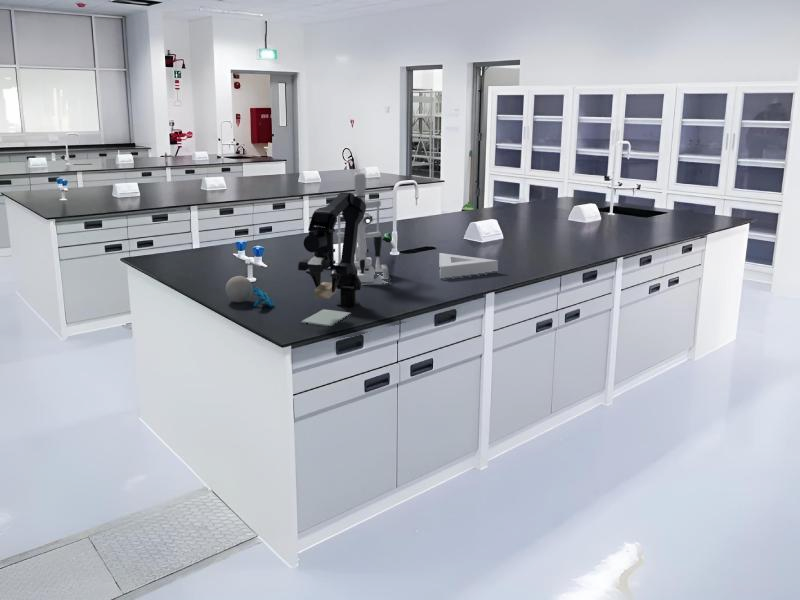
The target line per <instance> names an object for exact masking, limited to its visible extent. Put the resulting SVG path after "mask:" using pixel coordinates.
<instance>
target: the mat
mask: <svg viewBox="0 0 800 600" xmlns="http://www.w3.org/2000/svg"><path fill="white" fill-rule="evenodd" d="M349 314H351V315H352V312H346V311H340V310H332V309H325V308H323V309H321V310H319V311H318V312H316V313H314V314H312V315H311V316H308V317H306V318H305V319H302V320H301V323H302V324H306V323H308V324H307V325H313V324H314V325H313V326H323V327H328V326H329V328H330V326H331V327H332V326H334V325H336V324H337V323H339V322H341V321H342V320H344V319H345V317H346V316H347V317H349V316H350V315H349ZM348 315H349V316H348ZM347 317H346V318H347ZM343 318H344V319H343ZM340 320H341V321H340ZM338 321H339V322H338ZM335 323H336V324H335Z"/></svg>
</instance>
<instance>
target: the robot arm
mask: <svg viewBox="0 0 800 600" xmlns="http://www.w3.org/2000/svg"><path fill="white" fill-rule="evenodd" d="M366 210H367V208H366V204H365V203H364V202H363V200H362V199H360V198H358V197H356V195H355V194H353V193H352V192H346V191H345V192H344V191H341V192H338V194H337V196H336V197H335V198H334V199H333V200H332V201H330V202H329V203H328V204H327V205H326V206H323V207H319V208H316V209H315V210H314V211H313V213H312V215H311V219H310V222H309V225H308V235H307V236H305V238H304V239H303V247H304V248H305V250H306V251H307V252H309V253H314V256H313V257H311V259H307V258H305V259H303V260H301V261H299V262H298V264H297V270H298V271H305V273H306V274H308V275H309V276H310V277H311V278H312V279H311V280H313V282H314V283H313V284H314V286H315V288H316V287H318V286H319V285H320V284H321V275H322V273H323V272H324V271H325V270H327V271H333V272H334V273H333V274H332V273H331V274H330V277H331V282H332V292H335V290H336V287H337V290H340V291H339V293H340V295H339V296H340V300H339V301H340V302H338V303H337V304H336V306H339V307H346V306H348V307H347V308H354V307H355V306H357V305H359V304H360V301H357V298H356V297H357V293H356V292H357V291H361V288H362V286H361V281H360V279H359V277H358V276H357V269H356V266H355V264H354V259H355V250H356V241H357V232H358V224H359V223H360V222H361V220H362V219H363V217H364V212H365V213H366ZM339 214H340V215H342V218H343V219H344V222H345V223H344V224H345V225H344V232H343V233H344V237H343V243H342V248H341V249H342V250H341V262H340V263H339V265H338V264H336V260H335V258H334V257H335V255H334V253H335V252H336V248H334V233H335V232H336V229H335V227H336V224H337V223H338V215H339ZM357 242H358V241H357ZM335 293H336V292H335ZM358 303H359V304H358ZM356 304H357V305H356ZM353 306H354V307H353Z"/></svg>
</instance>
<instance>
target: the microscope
mask: <svg viewBox="0 0 800 600" xmlns="http://www.w3.org/2000/svg"><path fill="white" fill-rule="evenodd" d="M353 179H354V183H353V186H354V191H355V196H356V197H358V198H360V199H362V200H363V202H364V203H365V204H366V209H375V208H376V231H373V232H372V231H371V232H366V228H367V226H370V224H371V223H373V221H374V219H373V216H371V215H370V214H369V213H366V211H365V212H364V217H363V219H362V220H361V222H360V223H359V224H358V232H357V241H356V250H355V259H354V264H355V266H356V269H357V276H358V277H359V279H360V281H361V285H367V284H382V283H384V284H385V283H388V282H386V281H384V280H382V279H388V278H390V274H389V268H388V266H387V264H381V262H380V257H381V249H382V232H381V231H380V207H381V205H382V204H381V203H382V202H381V200H375V201H366V199H365V198H366V195H365V192H366V174H365V173H363V172H355V173H354V176H353ZM365 201H366V202H365ZM336 237H337V239H338V240H337V242H338V243H337V245H338V247H337V248H338V249H337V250H338V261H337V265H339V263H340V262H341V258H342V250H341V249H342V241H341V239H342V238H344V232H343V231H341V213H340V214H339V215H338V216H337V232H336ZM371 238H373V247H374V256H375V257H376V259H375V260H376V261H375V267H373V266H372V264H373V260H372V257H370V256H369V257H367V254H368V253H369V249H368V248H367V247H368V246H367V240H366V239H371ZM375 272H383V273H382V274H383V276H381V275H379V274H377V275H379V276H378V277H377V278H376V279H374V275H375ZM333 273H334V272H333V270H331V274H333Z"/></svg>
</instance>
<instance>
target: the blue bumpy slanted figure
mask: <svg viewBox="0 0 800 600" xmlns="http://www.w3.org/2000/svg"><path fill="white" fill-rule="evenodd" d="M253 293H254V294H255V296H257V297H258V299H257V301H256V302H255V303H253V307H254V308H256V307H257V306H259V305H260V303H261V302H263V301H264V302H263V303H264V304H265V305H268V307H271V308H273V307H274V306H275V302H274V301H273V300H272V298H271V297H269V295H268V293H267V292H266V291H265V292H264V291H263V290H262V289H260V288H259V287H258V286H253Z"/></svg>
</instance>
